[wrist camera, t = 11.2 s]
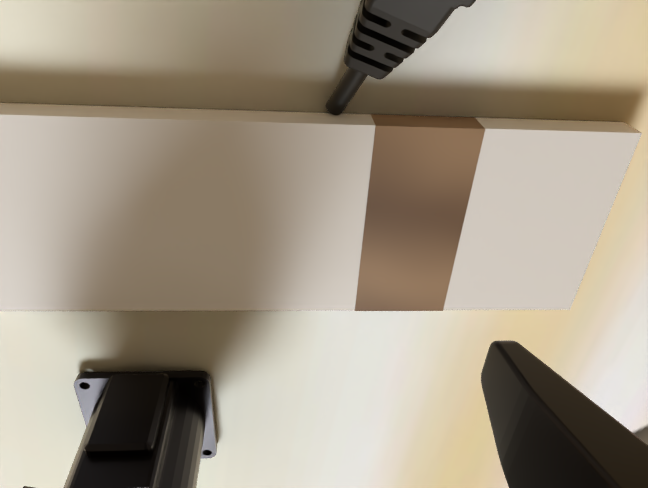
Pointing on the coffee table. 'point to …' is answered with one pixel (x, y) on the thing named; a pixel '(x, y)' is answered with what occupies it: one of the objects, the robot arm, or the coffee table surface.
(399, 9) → the power plug
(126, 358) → the coffee table surface
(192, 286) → the board
